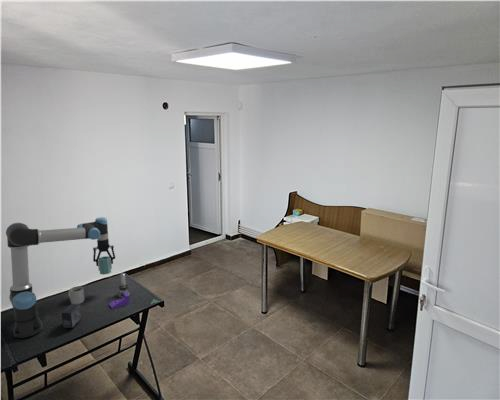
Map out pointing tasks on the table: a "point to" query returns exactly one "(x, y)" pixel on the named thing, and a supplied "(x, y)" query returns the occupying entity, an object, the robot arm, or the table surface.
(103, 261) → the sleeve
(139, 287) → the table surface
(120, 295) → the plate
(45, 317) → the table surface
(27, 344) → the table surface
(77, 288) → the mug
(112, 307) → the bracket
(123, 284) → the pipe
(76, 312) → the small box
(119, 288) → the ring
